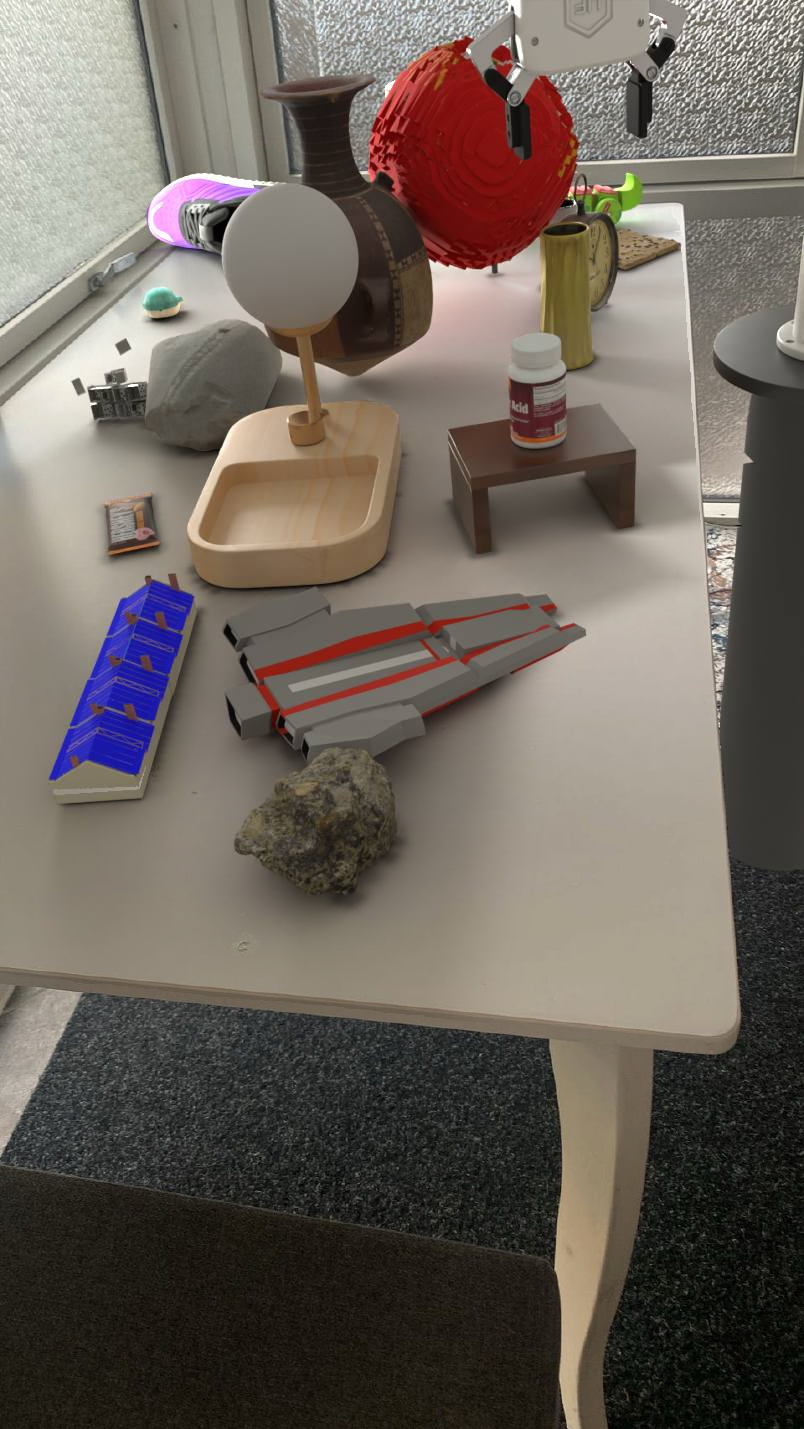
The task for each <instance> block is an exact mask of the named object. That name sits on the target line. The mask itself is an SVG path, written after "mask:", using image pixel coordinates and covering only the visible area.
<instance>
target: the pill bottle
mask: <svg viewBox="0 0 804 1429" xmlns="http://www.w3.org/2000/svg"><path fill="white" fill-rule="evenodd" d="M510 348H511V349H510V350H511V352H510V354H511V356H510V358H511V362H512V363H511V364H510V365H509V367H508V371H507V381H508V382H507V384H508V406H509V419H510V427H511V439H512V441H513V442H514V443H515V444H517V445H518V446H521V447H524V448H530V449H540V448H547V447H552V446H555V445H557V444H559V443H561V442H562V441H563V440H564V439H565V437H566V431H567V429H566V428H567V419H566V409H567V370H566V366H565V364H564V362H563V361H562V360H561V340H560V338H559V337H558V336H555V335H553V334H549V333H540V332H532V333H527V334H522V335H520V336H518V337H516V338H514V339H513V340H512V341H511V344H510Z"/></svg>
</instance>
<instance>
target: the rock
mask: <svg viewBox="0 0 804 1429" xmlns="http://www.w3.org/2000/svg"><path fill="white" fill-rule="evenodd" d="M395 799H396V796H395V795H394V793H393V782H392V780H391V778H390V775H389V772H388V770H387V768H386V766H385V765H382V764H380V763H378V762H377V761H375V759H374V758H371V757H370V755H369V754H368V752H367V751H365V750H363V749H362V748H359V747H358V748H357V750H355V749H352V748H349V749H346V750H345V749H339V748H338V747H332V748H328V749H325V750H324V751H323V752H322V753H321V754H320V755H319V756H317V757H316V758H315V759H314V760H313V761H312V763H311V764H310V765H309V766H308V765H307V766H306V767H305V768H304V769H303V770H301V771H297V770H294V771H292V772H290V773H289V774H288V775H287V776H285V777H281V778H278V779H277V781H276V782H275V784H274V788H273V792H271V793H270V794H269V795H268V796H267V797H266V800H265V801H264V802H263V803H262V804H261V805H259V806H258V807H256V808H253V809H252V810H250V812H249V814H248V816H247V817H246V818H245V819H244V821H243V823H242V825H241V826H240V828H239V830H238V831H237V832H236V834H235V837H234V840H233V842H234V843H233V846H234V848H233V849H234V851H235V852H236V854H238V855H242V856H249V855H252V856H253V857H254V858H255V859H257V861H258V863H260V865H262V866H263V867H264V868H265V869H267V870H268V871H269V872H271V873H273V874H274V875H275V876H280V877H281V878H283V879H284V880H286V881H290V882H291V883H293V885H295V886H296V888H297V889H298V890H300V891H301V892H304V893H306V894H308V895H309V896H310V897H313V896H319V895H322V894H324V893H328V892H332V893H336V894H338V893H339V894H340V893H342V894H343V895H352V894H354V893H355V891H356V888H357V884H358V883H359V875H360V873H361V872H363V871H364V870H365V869H368V868H371V867H372V863H373V859H380V858H381V856H384V855H386V854H387V853H388V852H389V851H390V849H391V843H392V842H393V841H395V840H397V833H398V823H397V819H396V803H395Z"/></svg>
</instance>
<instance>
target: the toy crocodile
mask: <svg viewBox="0 0 804 1429" xmlns="http://www.w3.org/2000/svg"><path fill="white" fill-rule="evenodd" d="M574 186H575V185H573V186H572V185H571V187H570V190H569V192H568V194H567V196H566V198H565V199H572V200H574ZM592 188H593V189H592V190H591V188H590V187H589V186H588V185H587V193H586V197H585V200H584V201H585V204H584V208H585V212H605V213H607V214H608V215H609V216H610V217H611V219H612V220H613V222H614V224H615V226H616V225H618V223H619V222H620V220H621V218H622V214H623V212H628V211H631V210H633V209H635V208H636V207H637V206H639V205H640V203H641V201H642V198H643V184H642V181H641V179H640V177H638V176H637V175H635V174H632V173H630V172H626V173H625V182H624V184H623V185H622V186H620V187H614V188H611V187H610V186H607V185H603V186H602V185H600V184H595V185H593V187H592ZM584 191H585V184H582V185H581V186H578V185H577V191H576V198H577V201H578V200H580V199H583V196H584ZM577 209H578V206H577Z"/></svg>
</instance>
